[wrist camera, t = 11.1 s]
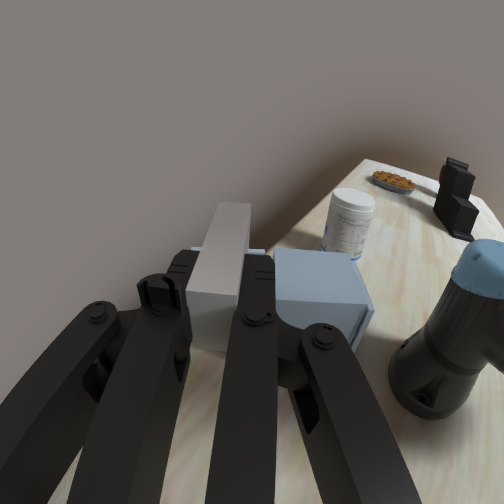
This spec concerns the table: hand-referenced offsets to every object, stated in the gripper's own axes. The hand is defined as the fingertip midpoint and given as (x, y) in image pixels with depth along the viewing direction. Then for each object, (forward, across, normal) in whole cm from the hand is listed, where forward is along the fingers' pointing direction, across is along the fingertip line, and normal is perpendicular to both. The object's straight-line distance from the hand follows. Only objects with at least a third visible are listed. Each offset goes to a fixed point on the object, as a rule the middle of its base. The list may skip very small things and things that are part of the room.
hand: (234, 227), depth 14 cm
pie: (+105, +61, -28) cm, 125 cm away
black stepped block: (+69, +74, -28) cm, 105 cm away
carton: (+14, +8, -26) cm, 31 cm away
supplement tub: (+41, +20, -27) cm, 53 cm away
